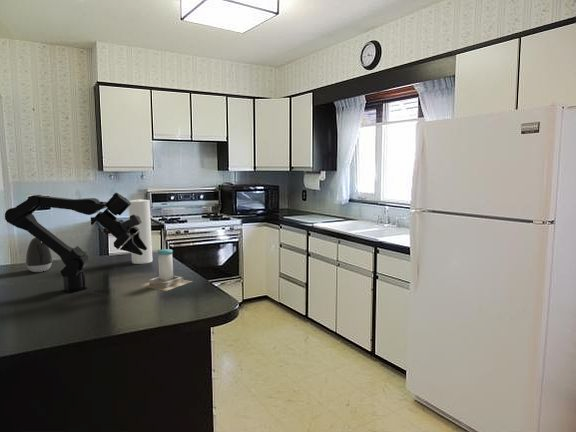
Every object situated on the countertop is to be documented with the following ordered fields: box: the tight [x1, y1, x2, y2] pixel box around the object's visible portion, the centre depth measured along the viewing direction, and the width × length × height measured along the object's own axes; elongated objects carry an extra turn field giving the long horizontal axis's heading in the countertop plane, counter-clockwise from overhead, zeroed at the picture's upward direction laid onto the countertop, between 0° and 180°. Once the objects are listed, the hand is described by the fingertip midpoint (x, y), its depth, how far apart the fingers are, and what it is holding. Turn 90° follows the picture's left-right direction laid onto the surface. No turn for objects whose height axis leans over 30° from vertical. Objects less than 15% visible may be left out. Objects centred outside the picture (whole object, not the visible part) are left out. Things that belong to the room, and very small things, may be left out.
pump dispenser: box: [25, 237, 53, 273], centre depth 181 cm, size 10×10×15 cm
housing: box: [139, 275, 194, 292], centre depth 159 cm, size 14×14×2 cm
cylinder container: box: [128, 198, 153, 265], centre depth 197 cm, size 9×9×30 cm
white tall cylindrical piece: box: [157, 248, 174, 282], centre depth 159 cm, size 6×6×13 cm
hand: (144, 251), depth 157 cm, fingers open, 9 cm apart
